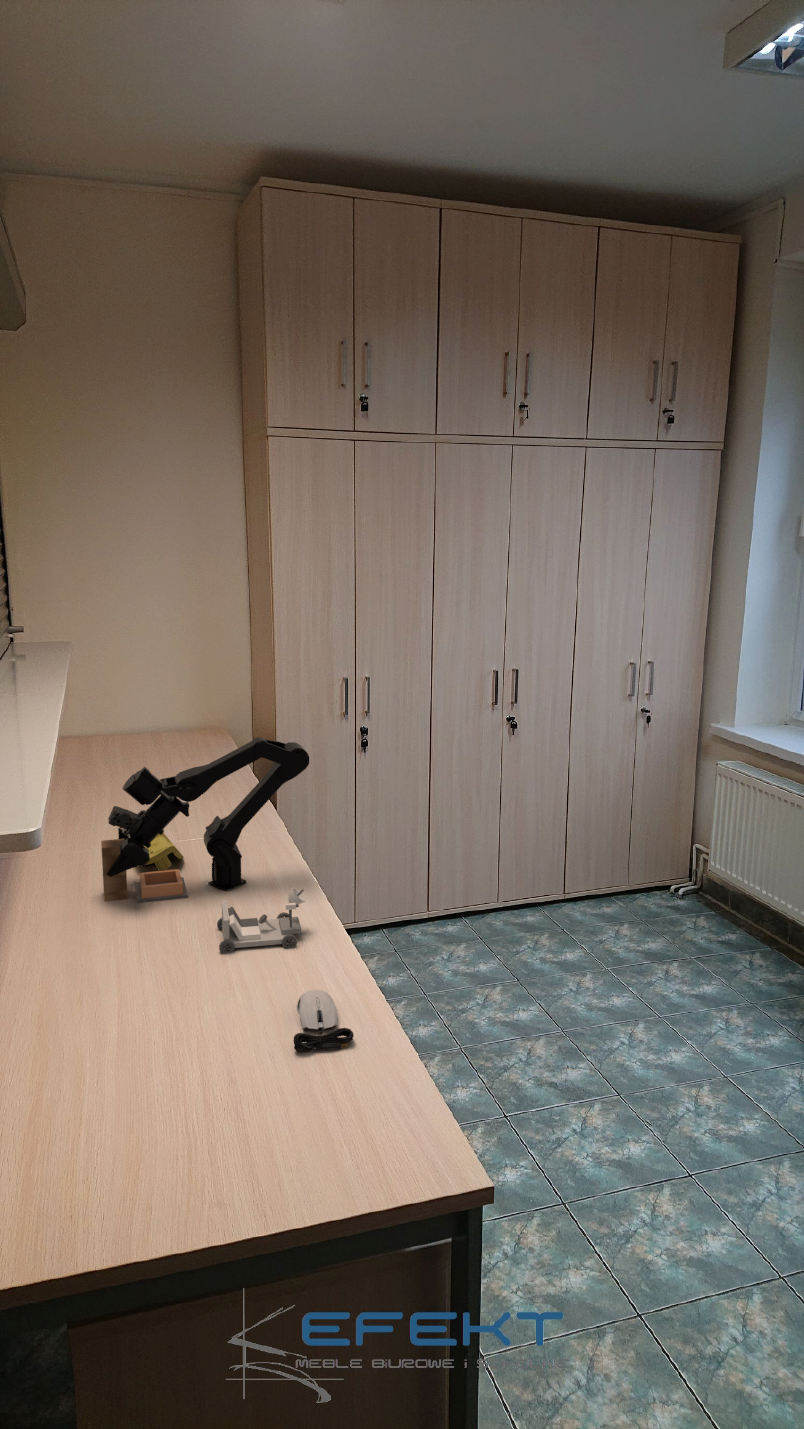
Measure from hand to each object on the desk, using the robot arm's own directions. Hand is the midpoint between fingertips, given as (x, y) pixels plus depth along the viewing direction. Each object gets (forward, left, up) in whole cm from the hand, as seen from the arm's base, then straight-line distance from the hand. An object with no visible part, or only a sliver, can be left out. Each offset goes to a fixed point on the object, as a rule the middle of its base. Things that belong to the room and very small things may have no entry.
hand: (107, 868), depth 209 cm
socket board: (-7, -9, -7) cm, 13 cm away
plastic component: (+8, -21, -7) cm, 23 cm away
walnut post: (-1, -1, -7) cm, 7 cm away
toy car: (-42, -6, -7) cm, 43 cm away
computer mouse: (-72, +13, -7) cm, 73 cm away
